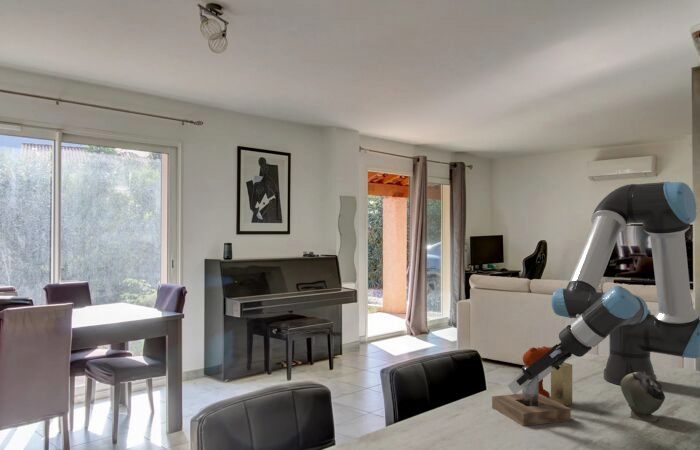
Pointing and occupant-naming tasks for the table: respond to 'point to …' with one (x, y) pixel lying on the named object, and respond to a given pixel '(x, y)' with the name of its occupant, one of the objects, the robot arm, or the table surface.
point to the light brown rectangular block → (562, 384)
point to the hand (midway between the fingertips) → (523, 384)
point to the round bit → (530, 392)
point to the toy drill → (532, 357)
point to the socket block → (531, 410)
